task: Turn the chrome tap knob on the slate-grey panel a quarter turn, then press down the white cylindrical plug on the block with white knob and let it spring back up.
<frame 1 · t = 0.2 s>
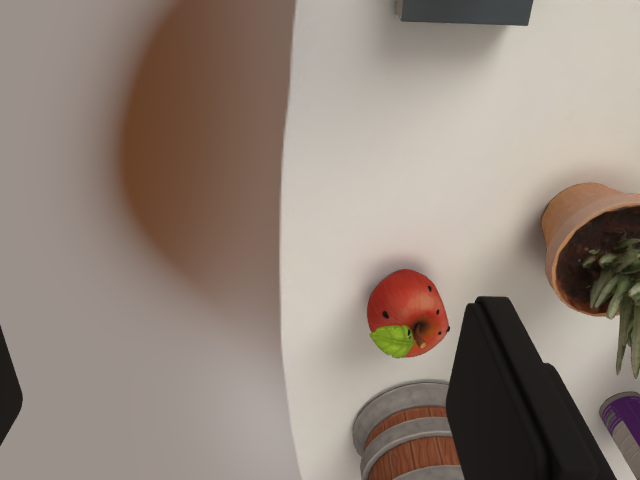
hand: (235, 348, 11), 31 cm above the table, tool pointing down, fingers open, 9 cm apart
container: (621, 406, 57), on the table
mug: (444, 425, 58), on the table
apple: (395, 283, 48), on the table
potted plant: (574, 216, 45), on the table
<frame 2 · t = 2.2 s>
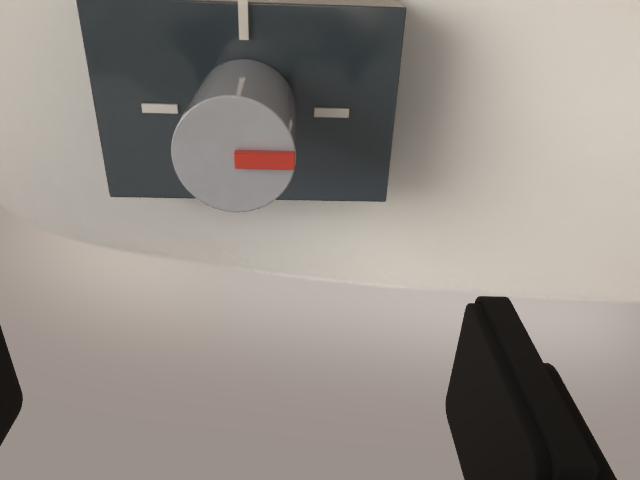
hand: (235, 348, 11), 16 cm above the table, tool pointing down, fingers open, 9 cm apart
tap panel: (252, 89, 25), on the table
tap knob: (240, 132, 20), point 6 cm above the table, hinge at 0.0°
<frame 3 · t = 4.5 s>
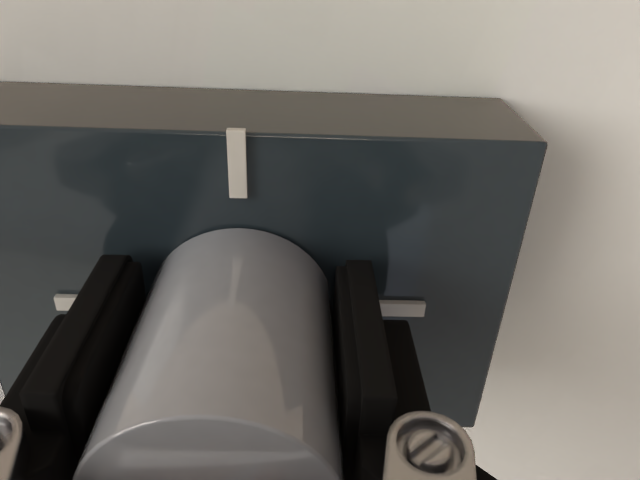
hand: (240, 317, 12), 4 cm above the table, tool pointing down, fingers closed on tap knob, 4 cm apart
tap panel: (253, 236, 15), on the table
tap knob: (229, 392, 10), point 6 cm above the table, hinge at -0.1°, touching gripper
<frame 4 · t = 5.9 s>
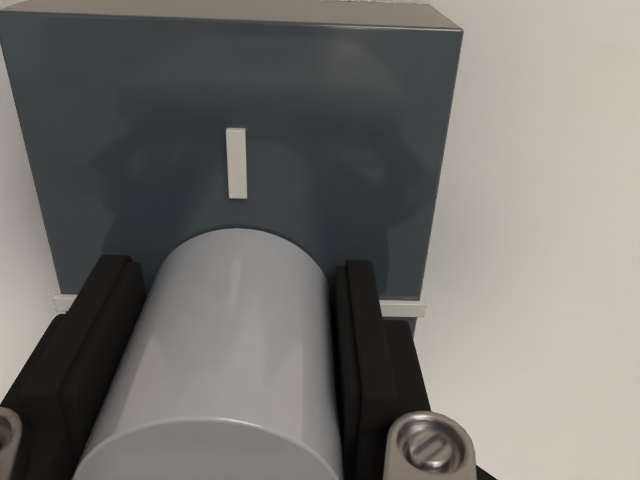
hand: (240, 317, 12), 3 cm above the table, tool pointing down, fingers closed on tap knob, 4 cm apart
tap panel: (253, 236, 15), on the table
tap knob: (228, 393, 10), point 6 cm above the table, hinge at 91.1°, touching gripper
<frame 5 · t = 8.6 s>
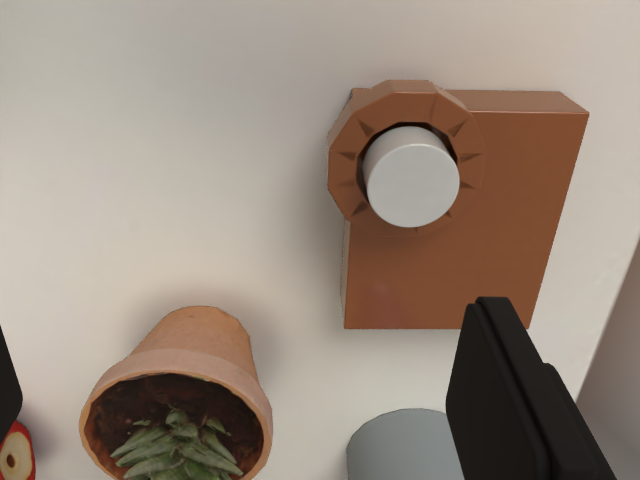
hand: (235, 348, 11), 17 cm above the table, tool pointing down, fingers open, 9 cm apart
white cylindrical plug: (409, 176, 22), point 6 cm above the table, slide at 0.1 cm
spray bottle: (407, 449, 40), on the table
potted plant: (199, 343, 34), on the table
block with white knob: (439, 202, 29), on the table
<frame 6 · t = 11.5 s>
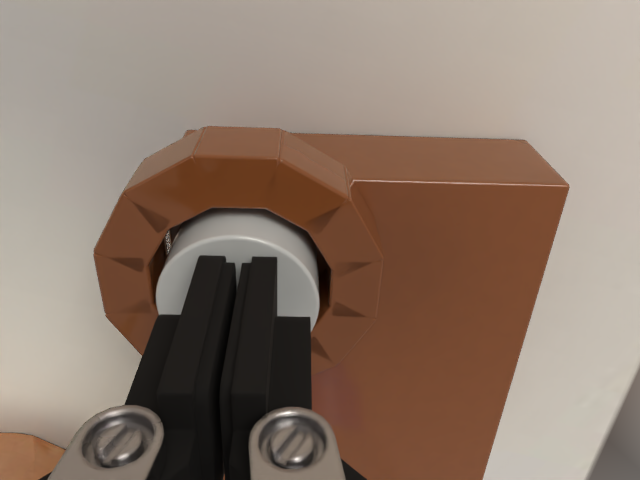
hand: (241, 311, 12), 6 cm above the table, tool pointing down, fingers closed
white cylindrical plug: (242, 280, 13), point 5 cm above the table, slide at -0.8 cm, touching gripper
potted plant: (18, 477, 24), on the table
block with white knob: (345, 299, 19), on the table
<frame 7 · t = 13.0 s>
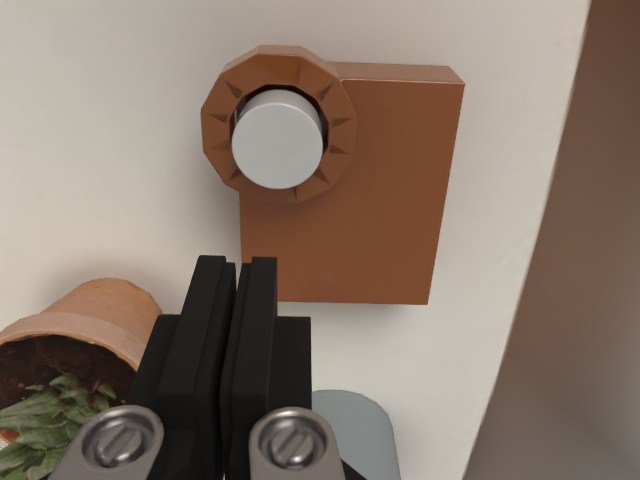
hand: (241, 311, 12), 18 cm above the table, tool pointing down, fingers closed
white cylindrical plug: (278, 139, 23), point 6 cm above the table, slide at 0.1 cm
spray bottle: (330, 433, 40), on the table
potted plant: (113, 317, 34), on the table
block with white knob: (339, 177, 30), on the table
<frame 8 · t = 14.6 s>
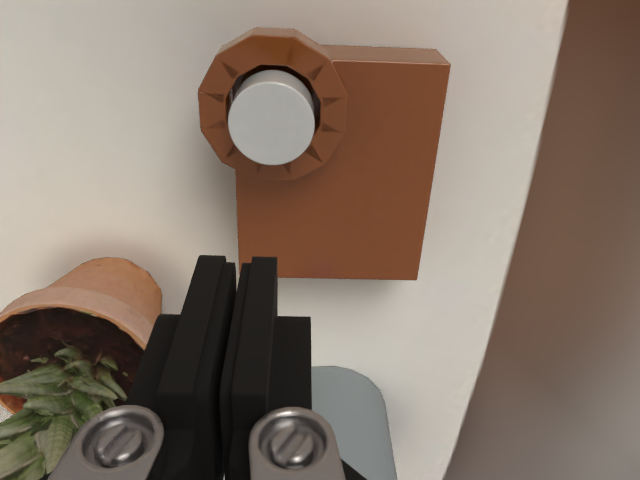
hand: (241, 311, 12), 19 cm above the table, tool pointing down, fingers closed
white cylindrical plug: (272, 117, 24), point 6 cm above the table, slide at 0.1 cm
spray bottle: (324, 409, 41), on the table
potted plant: (113, 296, 35), on the table
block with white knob: (331, 157, 31), on the table
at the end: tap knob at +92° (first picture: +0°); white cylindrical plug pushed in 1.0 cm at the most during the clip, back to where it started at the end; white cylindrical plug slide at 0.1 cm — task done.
